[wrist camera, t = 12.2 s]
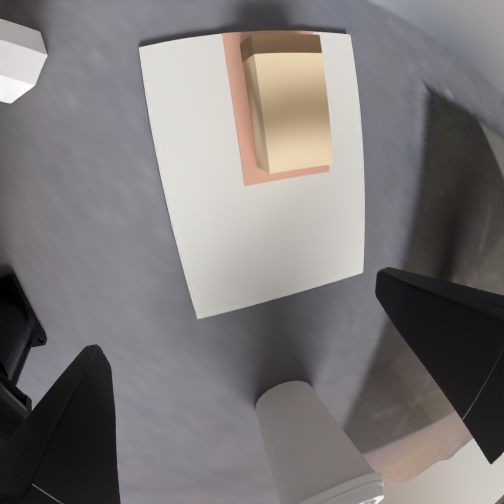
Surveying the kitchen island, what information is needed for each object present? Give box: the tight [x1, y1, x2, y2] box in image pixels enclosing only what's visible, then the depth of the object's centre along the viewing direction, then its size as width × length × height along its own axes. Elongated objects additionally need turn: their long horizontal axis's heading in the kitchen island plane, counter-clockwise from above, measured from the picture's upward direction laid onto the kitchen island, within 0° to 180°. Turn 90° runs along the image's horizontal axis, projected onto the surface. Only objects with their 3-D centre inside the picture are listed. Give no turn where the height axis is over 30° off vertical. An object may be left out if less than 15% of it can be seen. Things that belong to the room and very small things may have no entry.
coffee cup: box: [255, 381, 384, 504], centre depth 23 cm, size 10×10×15 cm
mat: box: [139, 31, 365, 319], centre depth 19 cm, size 19×14×1 cm
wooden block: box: [240, 34, 333, 174], centre depth 16 cm, size 8×4×2 cm, turn 5°
